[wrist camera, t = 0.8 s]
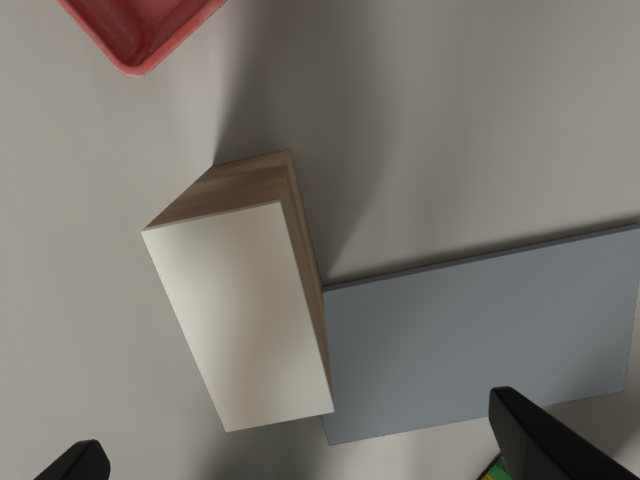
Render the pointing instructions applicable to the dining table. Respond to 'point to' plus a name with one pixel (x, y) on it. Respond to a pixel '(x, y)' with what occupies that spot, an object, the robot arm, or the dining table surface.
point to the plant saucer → (138, 28)
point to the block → (247, 290)
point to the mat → (481, 333)
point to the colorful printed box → (498, 471)
